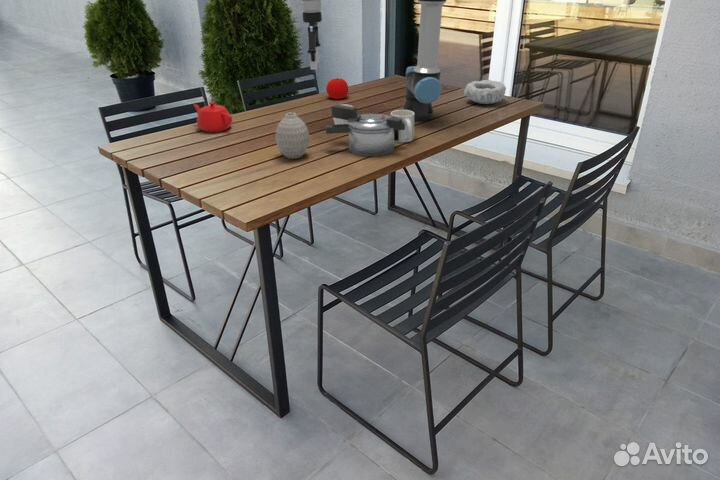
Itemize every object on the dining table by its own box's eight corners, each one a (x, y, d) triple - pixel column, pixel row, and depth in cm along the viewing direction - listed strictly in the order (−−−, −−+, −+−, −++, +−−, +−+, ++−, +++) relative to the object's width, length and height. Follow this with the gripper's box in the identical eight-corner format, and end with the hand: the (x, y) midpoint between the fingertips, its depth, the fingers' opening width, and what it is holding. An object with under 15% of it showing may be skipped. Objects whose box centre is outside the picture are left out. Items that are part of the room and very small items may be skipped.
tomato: (348, 101, 285) (347, 80, 280) (326, 101, 286) (325, 81, 281) (349, 95, 296) (348, 75, 291) (327, 95, 296) (326, 76, 291)
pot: (399, 139, 228) (400, 116, 223) (407, 154, 212) (408, 129, 207) (325, 143, 225) (324, 119, 221) (328, 158, 209) (326, 133, 204)
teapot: (246, 129, 245) (243, 102, 240) (219, 138, 234) (215, 110, 229) (210, 120, 259) (206, 94, 253) (183, 128, 248) (178, 101, 242)
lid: (412, 122, 214) (412, 110, 212) (387, 135, 201) (387, 122, 198) (347, 111, 230) (347, 100, 227) (320, 122, 216) (319, 110, 214)
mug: (417, 136, 231) (418, 110, 226) (410, 145, 221) (411, 118, 216) (394, 134, 234) (394, 108, 229) (386, 143, 224) (386, 116, 219)
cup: (342, 133, 237) (341, 110, 232) (326, 127, 245) (324, 104, 240) (357, 129, 241) (356, 106, 237) (340, 123, 250) (339, 101, 245)
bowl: (511, 101, 279) (513, 81, 274) (497, 110, 264) (499, 89, 259) (472, 96, 289) (474, 77, 284) (457, 105, 274) (458, 85, 269)
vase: (296, 164, 205) (293, 120, 197) (270, 158, 211) (266, 115, 203) (317, 153, 214) (314, 111, 206) (291, 148, 221) (287, 107, 213)
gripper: (305, 8, 229) (309, 60, 239) (298, 15, 207) (303, 72, 217) (323, 7, 228) (326, 60, 239) (318, 14, 207) (322, 72, 217)
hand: (315, 66), depth 228 cm, fingers open, 13 cm apart
